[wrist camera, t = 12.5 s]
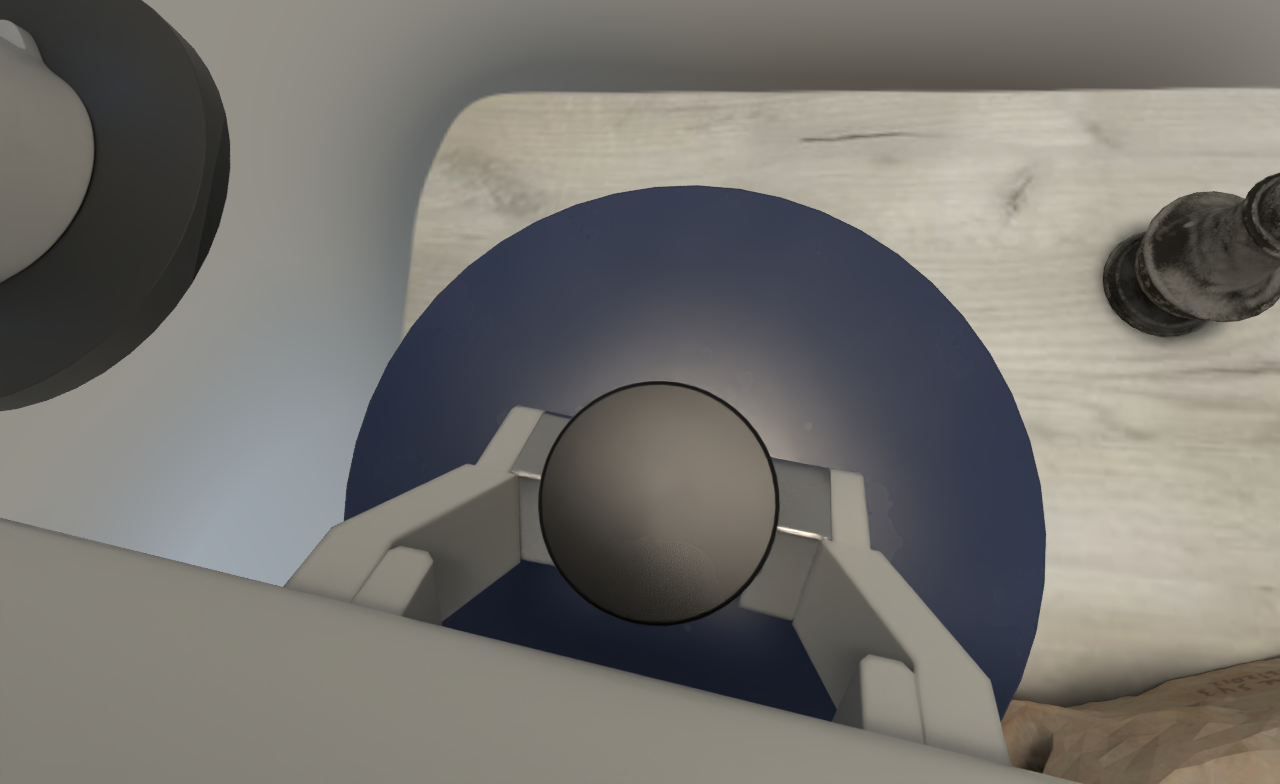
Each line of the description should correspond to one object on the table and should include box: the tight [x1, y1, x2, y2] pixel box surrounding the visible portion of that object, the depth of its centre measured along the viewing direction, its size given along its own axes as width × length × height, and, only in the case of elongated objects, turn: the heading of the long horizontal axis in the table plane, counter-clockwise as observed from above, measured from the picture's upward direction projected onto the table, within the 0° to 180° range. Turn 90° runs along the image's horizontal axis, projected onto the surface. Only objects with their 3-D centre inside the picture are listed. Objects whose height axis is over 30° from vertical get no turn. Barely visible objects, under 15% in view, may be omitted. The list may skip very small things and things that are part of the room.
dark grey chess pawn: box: [1103, 173, 1280, 337], centre depth 26 cm, size 6×6×12 cm
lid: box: [344, 185, 1046, 722], centre depth 11 cm, size 15×15×8 cm
